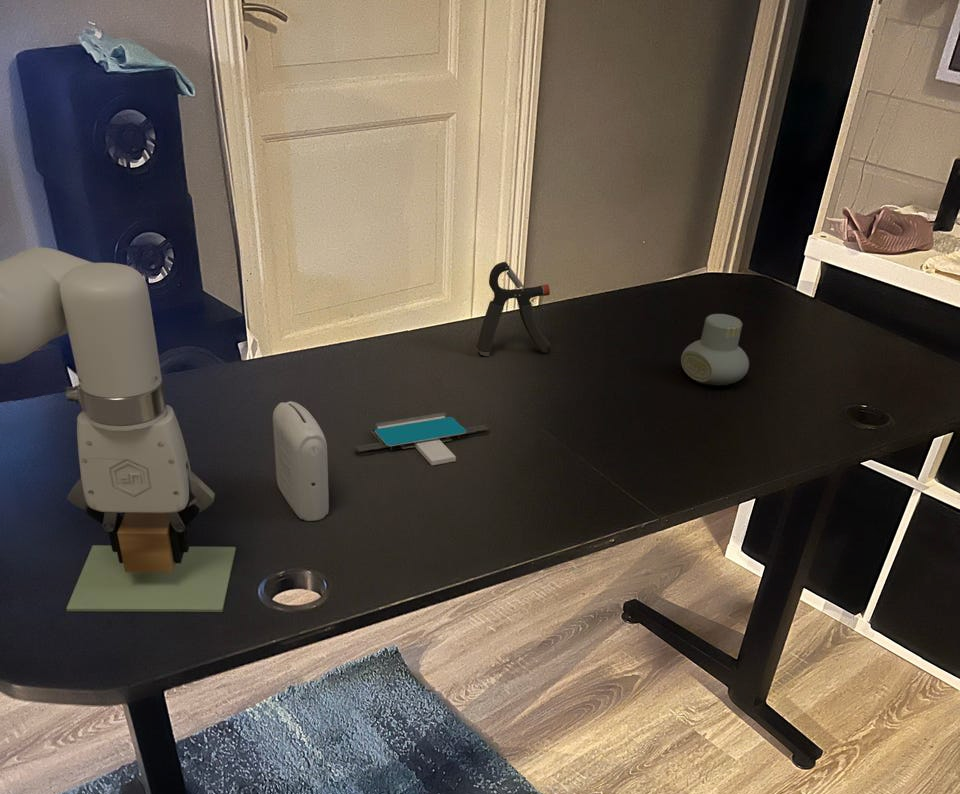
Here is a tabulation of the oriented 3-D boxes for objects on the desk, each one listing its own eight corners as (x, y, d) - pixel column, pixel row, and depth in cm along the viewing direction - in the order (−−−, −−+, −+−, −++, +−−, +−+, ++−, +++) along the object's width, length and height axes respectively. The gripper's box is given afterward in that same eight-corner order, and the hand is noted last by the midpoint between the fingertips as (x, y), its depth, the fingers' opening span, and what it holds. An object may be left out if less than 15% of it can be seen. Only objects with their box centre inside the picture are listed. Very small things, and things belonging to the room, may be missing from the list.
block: (125, 572, 103) (116, 532, 100) (134, 546, 107) (126, 507, 104) (173, 572, 104) (166, 533, 101) (180, 547, 108) (174, 508, 104)
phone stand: (375, 476, 128) (375, 465, 127) (343, 436, 136) (342, 425, 135) (508, 451, 136) (509, 441, 135) (470, 415, 144) (471, 405, 143)
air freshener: (670, 371, 162) (681, 312, 155) (705, 362, 165) (718, 304, 159) (716, 397, 155) (730, 336, 148) (752, 387, 159) (767, 328, 152)
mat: (66, 611, 102) (66, 608, 101) (93, 548, 111) (92, 545, 111) (222, 612, 103) (222, 609, 103) (235, 549, 113) (235, 546, 112)
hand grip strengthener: (551, 355, 163) (561, 265, 154) (479, 357, 161) (485, 265, 151) (547, 350, 165) (557, 260, 156) (476, 352, 162) (482, 260, 153)
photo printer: (333, 518, 119) (331, 426, 111) (300, 525, 117) (295, 432, 110) (305, 479, 126) (300, 390, 118) (273, 485, 124) (266, 395, 117)
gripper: (21, 415, 90) (62, 576, 101) (209, 419, 92) (228, 576, 103) (43, 381, 96) (79, 537, 107) (219, 385, 98) (236, 538, 109)
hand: (152, 554), depth 105 cm, fingers closed on block, 5 cm apart
